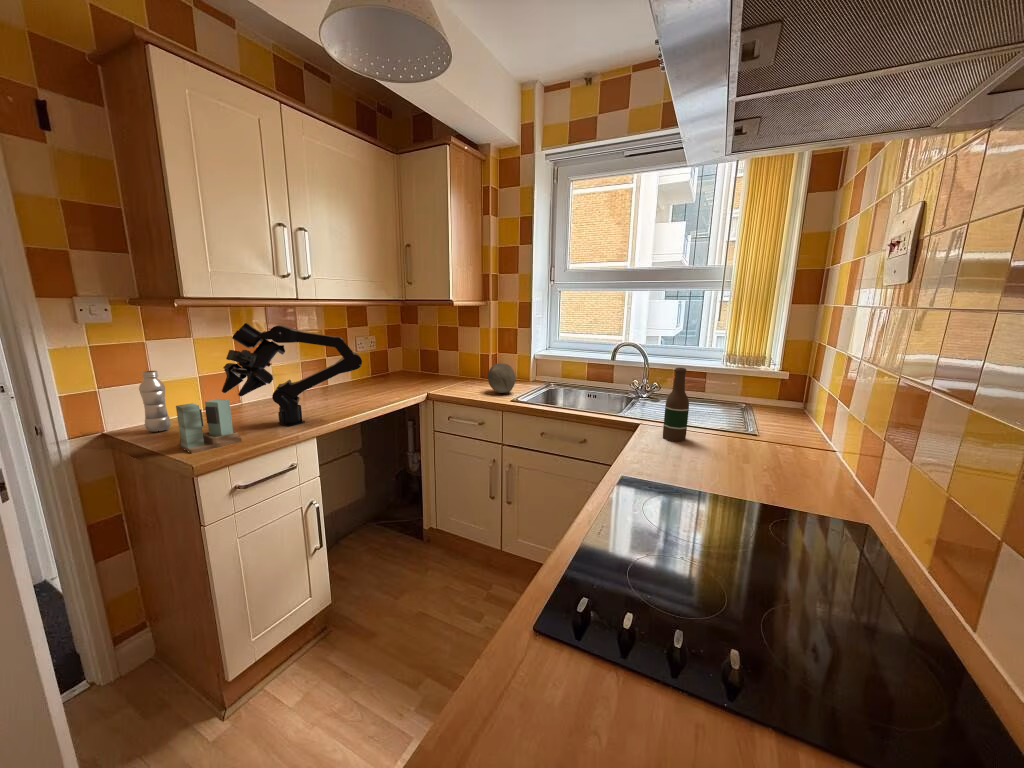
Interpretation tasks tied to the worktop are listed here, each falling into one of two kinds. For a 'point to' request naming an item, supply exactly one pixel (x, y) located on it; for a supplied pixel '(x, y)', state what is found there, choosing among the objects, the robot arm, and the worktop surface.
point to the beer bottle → (676, 410)
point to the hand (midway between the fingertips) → (231, 394)
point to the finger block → (218, 417)
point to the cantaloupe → (501, 378)
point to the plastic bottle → (154, 402)
